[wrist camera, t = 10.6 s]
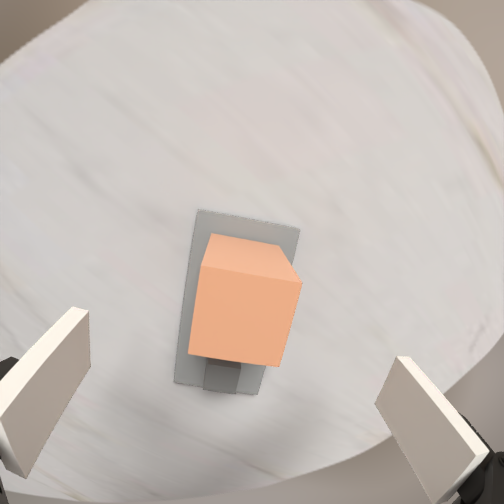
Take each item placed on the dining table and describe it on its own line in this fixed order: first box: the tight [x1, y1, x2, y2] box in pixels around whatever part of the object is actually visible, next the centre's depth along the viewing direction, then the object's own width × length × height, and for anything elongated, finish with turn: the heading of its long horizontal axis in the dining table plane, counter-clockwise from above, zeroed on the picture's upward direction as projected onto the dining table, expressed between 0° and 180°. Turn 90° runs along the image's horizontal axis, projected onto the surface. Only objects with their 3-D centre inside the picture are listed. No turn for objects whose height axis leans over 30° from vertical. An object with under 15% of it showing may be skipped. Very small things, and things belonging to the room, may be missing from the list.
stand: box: [174, 209, 300, 395], centre depth 23 cm, size 8×16×9 cm, turn 169°
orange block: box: [188, 233, 302, 367], centre depth 21 cm, size 5×5×9 cm
